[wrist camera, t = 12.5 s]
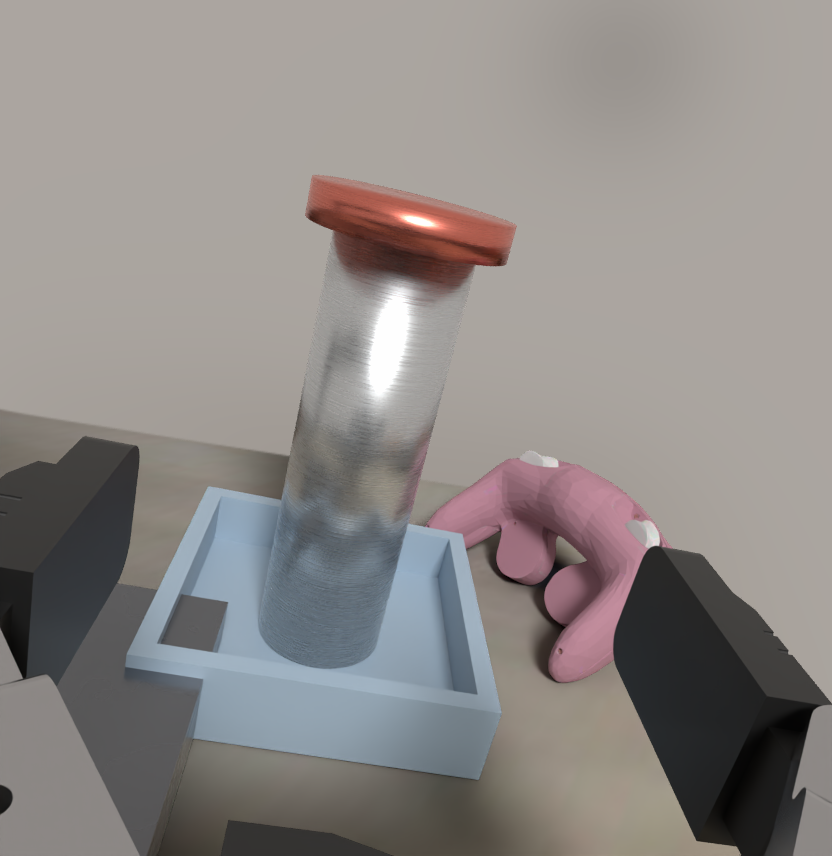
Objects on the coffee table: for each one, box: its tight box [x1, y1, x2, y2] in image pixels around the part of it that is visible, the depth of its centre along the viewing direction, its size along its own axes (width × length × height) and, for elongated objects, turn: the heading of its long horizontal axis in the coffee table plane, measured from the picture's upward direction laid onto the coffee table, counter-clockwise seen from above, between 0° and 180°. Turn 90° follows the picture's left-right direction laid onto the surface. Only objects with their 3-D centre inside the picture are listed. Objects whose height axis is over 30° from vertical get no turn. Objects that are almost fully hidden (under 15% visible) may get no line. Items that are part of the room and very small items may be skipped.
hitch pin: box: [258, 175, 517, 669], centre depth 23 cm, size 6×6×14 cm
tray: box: [125, 486, 502, 780], centre depth 25 cm, size 10×10×2 cm
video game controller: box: [425, 451, 673, 683], centre depth 30 cm, size 10×5×7 cm, turn 33°
